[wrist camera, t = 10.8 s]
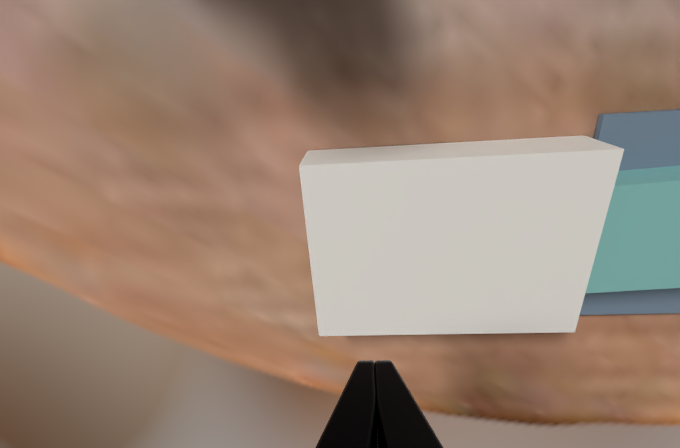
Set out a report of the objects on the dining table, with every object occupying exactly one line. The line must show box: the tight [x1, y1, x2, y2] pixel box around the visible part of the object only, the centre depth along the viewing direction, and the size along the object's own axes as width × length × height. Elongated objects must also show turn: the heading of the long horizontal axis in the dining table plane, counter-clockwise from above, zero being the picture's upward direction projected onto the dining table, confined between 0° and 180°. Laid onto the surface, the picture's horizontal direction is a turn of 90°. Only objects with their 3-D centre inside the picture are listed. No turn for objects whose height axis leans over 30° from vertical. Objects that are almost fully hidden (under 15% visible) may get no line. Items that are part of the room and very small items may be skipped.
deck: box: [299, 135, 624, 336], centre depth 19 cm, size 14×10×3 cm
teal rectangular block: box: [586, 165, 680, 293], centre depth 18 cm, size 9×6×2 cm, turn 96°
